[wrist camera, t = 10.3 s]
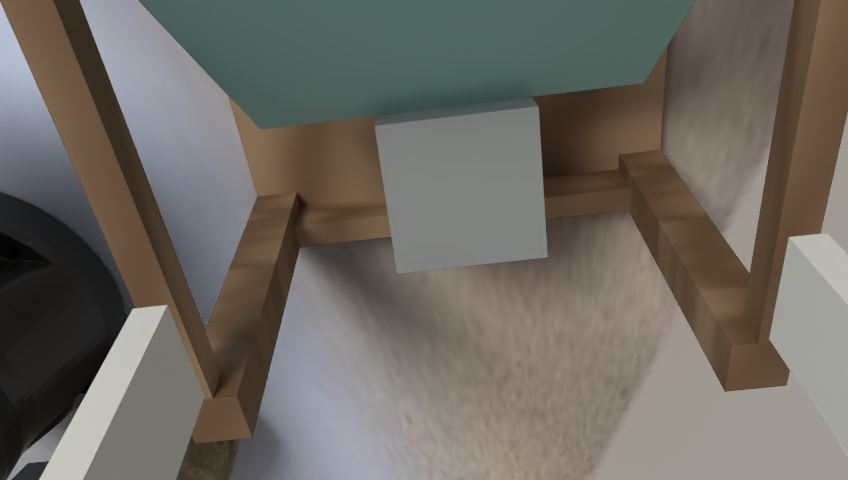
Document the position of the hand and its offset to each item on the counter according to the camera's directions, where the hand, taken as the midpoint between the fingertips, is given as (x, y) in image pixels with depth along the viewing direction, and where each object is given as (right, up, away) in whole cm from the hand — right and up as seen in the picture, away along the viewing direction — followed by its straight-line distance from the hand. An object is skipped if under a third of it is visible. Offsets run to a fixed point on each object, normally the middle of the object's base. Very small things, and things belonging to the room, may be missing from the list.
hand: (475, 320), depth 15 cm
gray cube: (0, +7, +13) cm, 15 cm away
